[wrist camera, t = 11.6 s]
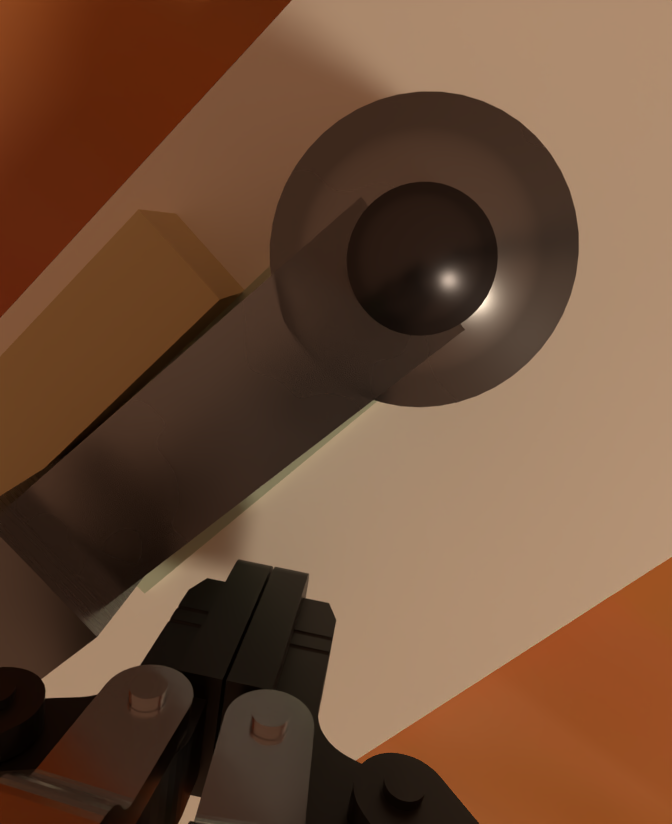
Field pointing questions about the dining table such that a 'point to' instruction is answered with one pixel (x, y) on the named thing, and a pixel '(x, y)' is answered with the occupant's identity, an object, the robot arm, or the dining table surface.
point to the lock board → (377, 422)
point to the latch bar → (305, 351)
